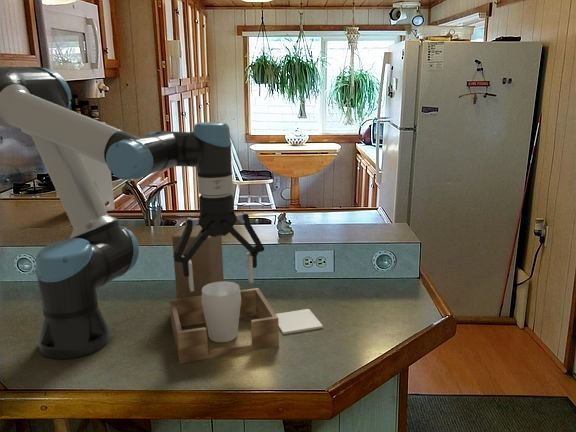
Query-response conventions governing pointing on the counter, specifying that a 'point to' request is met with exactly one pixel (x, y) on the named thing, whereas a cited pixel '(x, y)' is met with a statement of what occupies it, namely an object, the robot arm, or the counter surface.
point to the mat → (298, 321)
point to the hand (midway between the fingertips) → (221, 285)
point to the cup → (221, 310)
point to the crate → (195, 340)
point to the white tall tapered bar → (101, 180)
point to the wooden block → (199, 264)
